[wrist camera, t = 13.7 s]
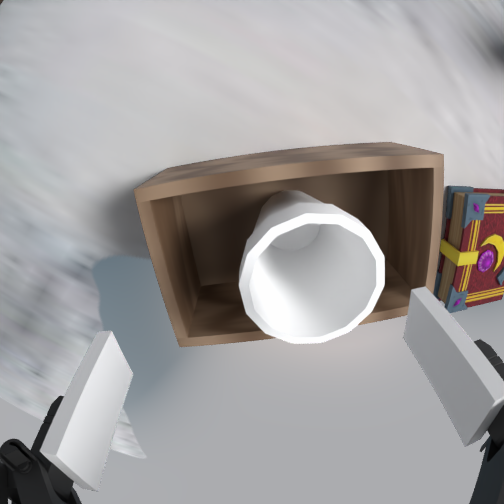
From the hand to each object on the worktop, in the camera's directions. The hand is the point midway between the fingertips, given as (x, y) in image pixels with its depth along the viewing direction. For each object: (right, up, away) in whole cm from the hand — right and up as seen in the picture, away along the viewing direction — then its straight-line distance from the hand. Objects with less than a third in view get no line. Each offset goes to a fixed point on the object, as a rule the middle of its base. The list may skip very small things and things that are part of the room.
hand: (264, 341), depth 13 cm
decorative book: (+28, +5, +21) cm, 36 cm away
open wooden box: (+4, +7, +19) cm, 21 cm away
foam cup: (+3, +7, +18) cm, 20 cm away
